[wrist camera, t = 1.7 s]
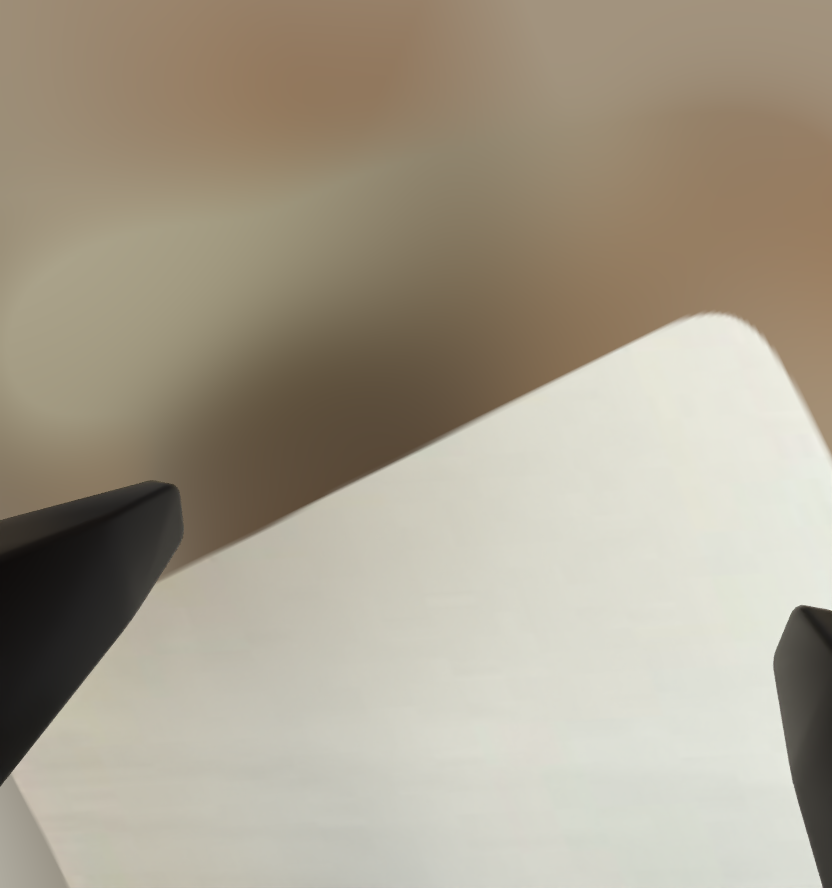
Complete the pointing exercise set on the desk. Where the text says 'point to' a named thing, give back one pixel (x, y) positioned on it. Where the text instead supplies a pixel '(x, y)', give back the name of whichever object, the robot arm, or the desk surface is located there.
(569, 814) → the desk surface
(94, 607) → the robot arm
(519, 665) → the desk surface
